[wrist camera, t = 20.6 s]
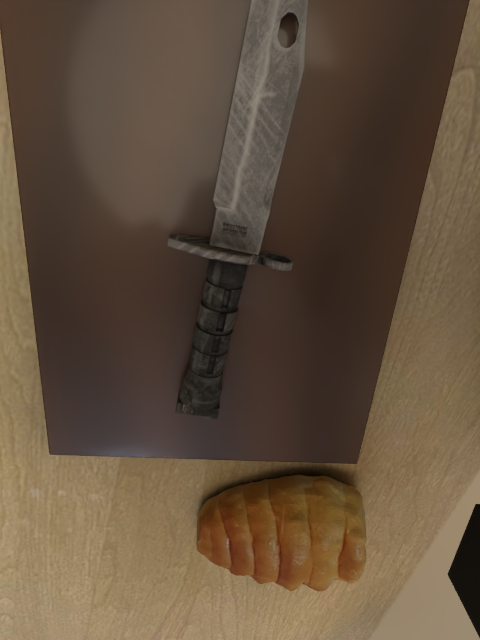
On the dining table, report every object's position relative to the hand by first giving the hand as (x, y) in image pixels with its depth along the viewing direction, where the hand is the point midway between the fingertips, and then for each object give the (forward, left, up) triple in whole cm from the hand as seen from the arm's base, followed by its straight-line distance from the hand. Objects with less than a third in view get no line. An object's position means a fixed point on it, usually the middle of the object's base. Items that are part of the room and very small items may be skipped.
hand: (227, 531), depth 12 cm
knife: (0, -7, -10) cm, 12 cm away
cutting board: (0, -6, -11) cm, 12 cm away
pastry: (-5, +11, -11) cm, 16 cm away
